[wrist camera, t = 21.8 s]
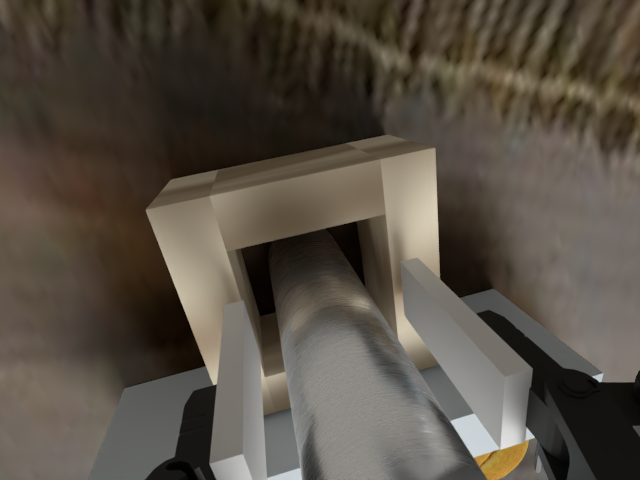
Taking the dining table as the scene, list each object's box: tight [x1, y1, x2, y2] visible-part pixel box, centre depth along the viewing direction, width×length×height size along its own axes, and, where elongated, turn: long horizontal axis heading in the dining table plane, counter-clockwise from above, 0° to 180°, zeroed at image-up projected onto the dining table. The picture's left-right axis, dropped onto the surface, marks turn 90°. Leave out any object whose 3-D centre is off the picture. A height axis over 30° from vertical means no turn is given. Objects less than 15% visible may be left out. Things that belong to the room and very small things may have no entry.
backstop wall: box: [88, 289, 603, 480], centre depth 20 cm, size 3×24×8 cm, turn 100°
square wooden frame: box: [146, 135, 440, 416], centre depth 18 cm, size 11×11×5 cm
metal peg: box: [268, 229, 487, 480], centre depth 14 cm, size 4×4×14 cm
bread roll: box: [474, 440, 529, 480], centre depth 27 cm, size 8×9×4 cm
